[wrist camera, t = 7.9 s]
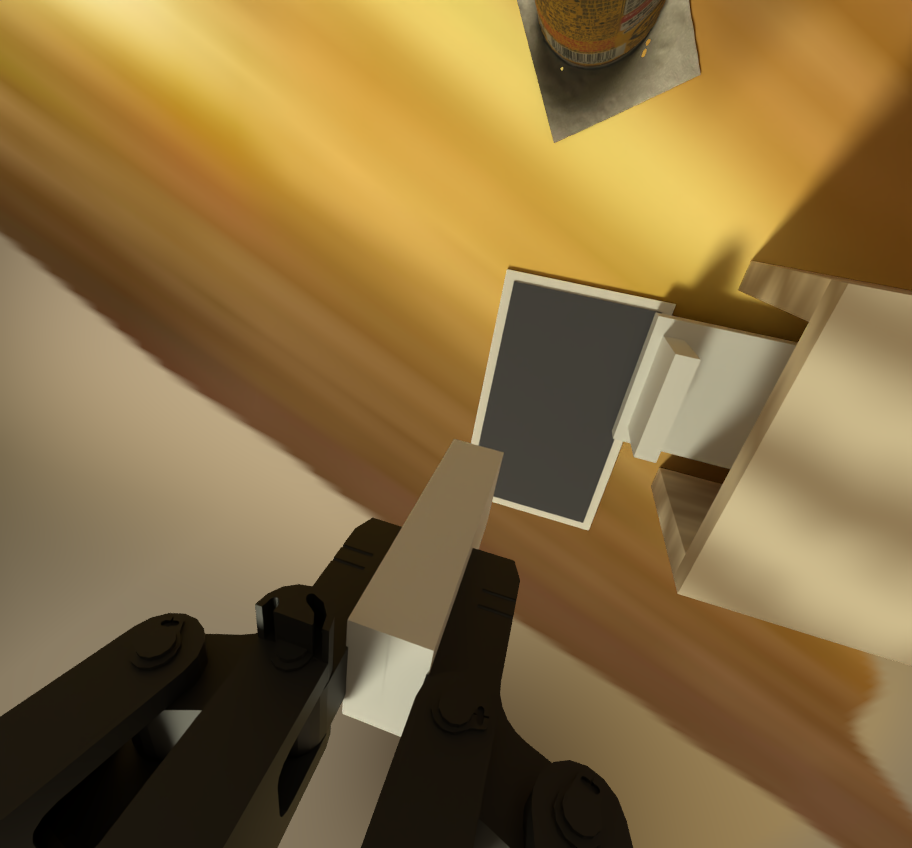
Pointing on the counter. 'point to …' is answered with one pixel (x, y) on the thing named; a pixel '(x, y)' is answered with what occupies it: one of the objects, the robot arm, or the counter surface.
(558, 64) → the condiment
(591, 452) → the pad
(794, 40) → the counter surface
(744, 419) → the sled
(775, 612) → the tunnel
